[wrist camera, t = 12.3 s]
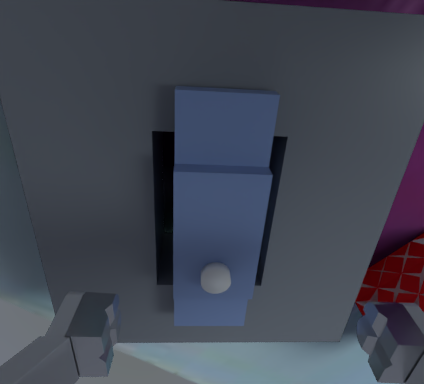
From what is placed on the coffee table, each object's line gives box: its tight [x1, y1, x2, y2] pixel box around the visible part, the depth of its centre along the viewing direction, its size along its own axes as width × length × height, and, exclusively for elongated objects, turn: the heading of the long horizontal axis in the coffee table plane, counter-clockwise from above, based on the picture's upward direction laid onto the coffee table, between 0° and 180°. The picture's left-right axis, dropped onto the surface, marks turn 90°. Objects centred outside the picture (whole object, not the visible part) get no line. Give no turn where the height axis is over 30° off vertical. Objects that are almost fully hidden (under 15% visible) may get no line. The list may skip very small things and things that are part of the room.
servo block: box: [173, 86, 280, 326], centre depth 17 cm, size 4×13×8 cm, turn 177°
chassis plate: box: [0, 0, 424, 343], centre depth 18 cm, size 18×19×5 cm
